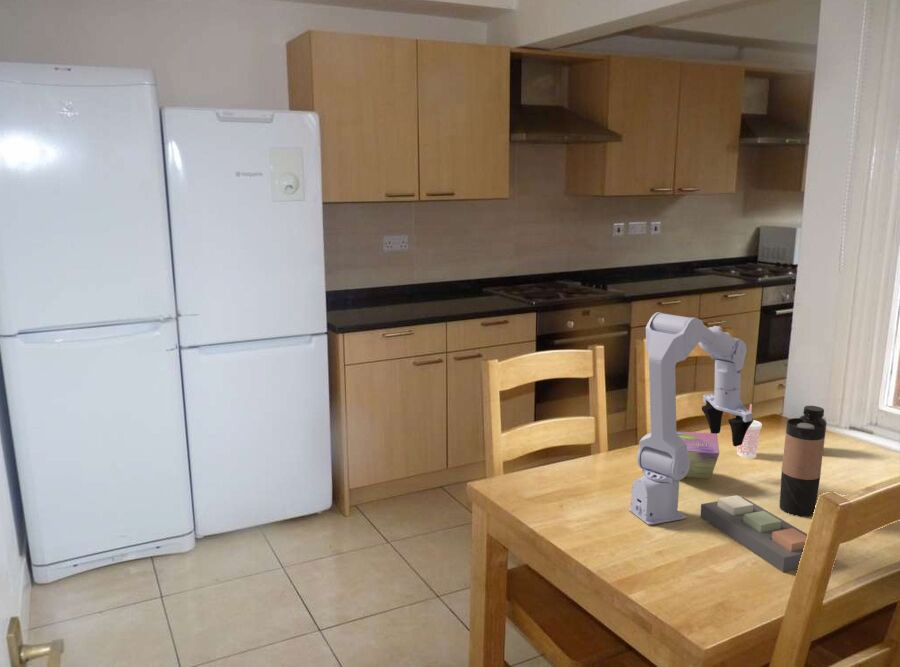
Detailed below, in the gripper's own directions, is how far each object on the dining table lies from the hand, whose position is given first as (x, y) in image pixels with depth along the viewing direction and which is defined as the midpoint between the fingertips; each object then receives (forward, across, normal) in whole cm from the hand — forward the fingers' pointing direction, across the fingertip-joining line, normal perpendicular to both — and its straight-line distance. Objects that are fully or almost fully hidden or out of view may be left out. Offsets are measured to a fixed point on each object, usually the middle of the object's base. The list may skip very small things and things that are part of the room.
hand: (726, 439), depth 176 cm
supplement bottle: (+15, +6, -34) cm, 37 cm away
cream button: (+6, -19, +14) cm, 24 cm away
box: (+8, +6, +7) cm, 12 cm away
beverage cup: (+13, +10, -16) cm, 23 cm away
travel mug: (+10, -19, -3) cm, 22 cm away
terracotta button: (+5, -35, +14) cm, 38 cm away
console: (+8, -27, +14) cm, 31 cm away
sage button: (+5, -27, +14) cm, 31 cm away
